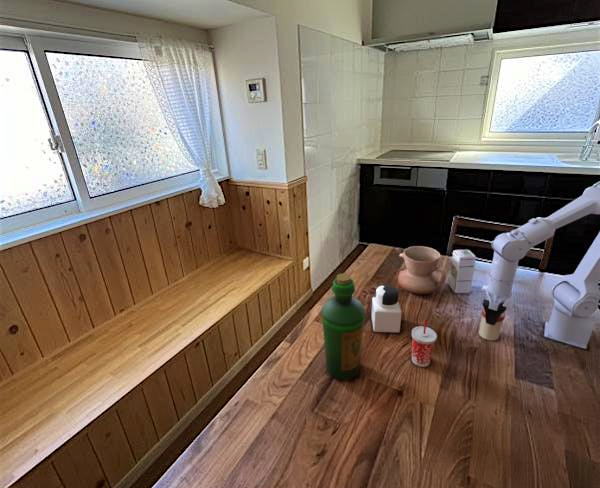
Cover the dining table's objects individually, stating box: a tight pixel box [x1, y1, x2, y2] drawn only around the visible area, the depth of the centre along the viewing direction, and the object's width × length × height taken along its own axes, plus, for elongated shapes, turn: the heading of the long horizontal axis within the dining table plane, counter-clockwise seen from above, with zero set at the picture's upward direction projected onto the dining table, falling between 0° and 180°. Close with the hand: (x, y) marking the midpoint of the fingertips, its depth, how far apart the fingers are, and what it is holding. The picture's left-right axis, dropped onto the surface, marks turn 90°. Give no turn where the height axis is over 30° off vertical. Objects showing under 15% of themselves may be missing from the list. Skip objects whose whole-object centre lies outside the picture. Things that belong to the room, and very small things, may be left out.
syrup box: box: [448, 249, 477, 294], centre depth 118 cm, size 6×6×14 cm
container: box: [371, 284, 403, 334], centre depth 102 cm, size 8×8×13 cm
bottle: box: [321, 273, 366, 381], centre depth 83 cm, size 11×11×28 cm
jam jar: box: [478, 315, 504, 341], centre depth 97 cm, size 5×5×8 cm
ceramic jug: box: [397, 245, 447, 295], centre depth 119 cm, size 18×14×14 cm
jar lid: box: [481, 306, 506, 323], centre depth 95 cm, size 6×6×2 cm
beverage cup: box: [411, 316, 438, 368], centre depth 87 cm, size 6×6×14 cm
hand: (492, 318), depth 96 cm, fingers closed on jar lid, 5 cm apart
